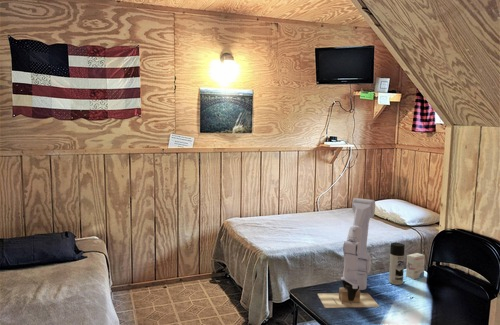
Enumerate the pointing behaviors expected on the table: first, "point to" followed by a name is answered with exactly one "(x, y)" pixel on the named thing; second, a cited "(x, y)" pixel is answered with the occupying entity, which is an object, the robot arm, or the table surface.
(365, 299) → the board
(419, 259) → the ink box
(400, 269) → the spray can
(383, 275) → the table surface
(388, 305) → the table surface
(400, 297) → the table surface
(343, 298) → the block
